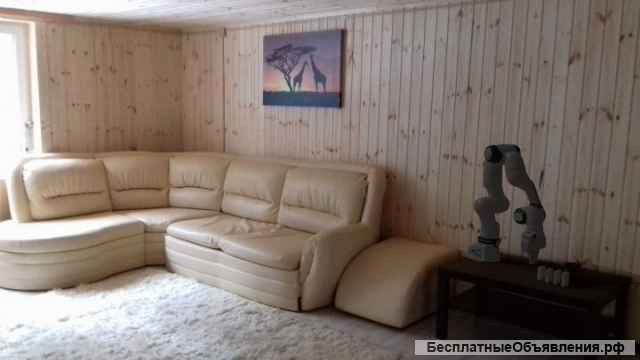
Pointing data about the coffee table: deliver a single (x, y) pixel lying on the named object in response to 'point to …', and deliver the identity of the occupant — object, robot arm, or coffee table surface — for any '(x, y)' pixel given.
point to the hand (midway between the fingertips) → (533, 258)
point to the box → (572, 269)
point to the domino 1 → (534, 258)
